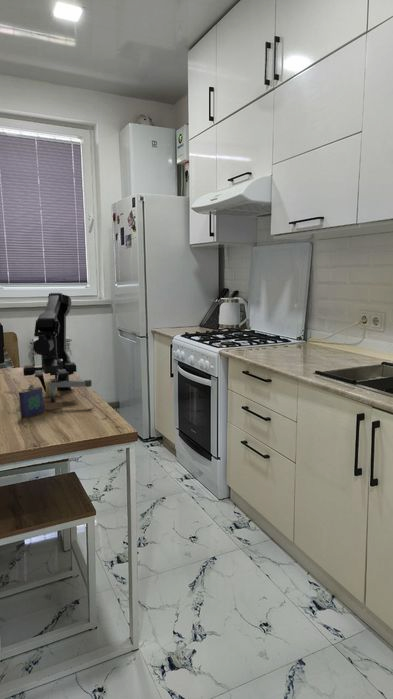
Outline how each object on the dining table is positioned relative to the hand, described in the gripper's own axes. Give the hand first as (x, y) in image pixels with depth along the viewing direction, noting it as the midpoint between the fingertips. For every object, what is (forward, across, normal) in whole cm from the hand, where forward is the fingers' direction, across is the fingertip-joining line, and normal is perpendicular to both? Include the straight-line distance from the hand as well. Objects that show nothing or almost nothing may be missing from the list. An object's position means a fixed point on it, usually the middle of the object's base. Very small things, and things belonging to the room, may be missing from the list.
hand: (51, 391), depth 172 cm
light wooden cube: (+1, 0, 0) cm, 1 cm away
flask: (+4, -7, -17) cm, 19 cm away
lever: (+1, +6, -12) cm, 13 cm away
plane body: (+4, 0, -2) cm, 4 cm away
